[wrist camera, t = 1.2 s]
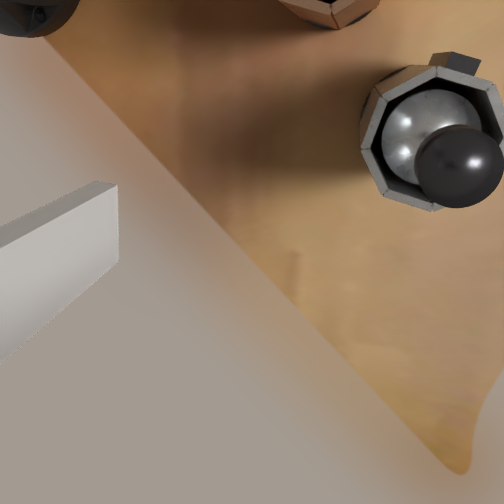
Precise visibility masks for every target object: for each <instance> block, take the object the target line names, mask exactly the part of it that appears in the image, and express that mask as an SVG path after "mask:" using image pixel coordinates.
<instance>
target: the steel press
mask: <svg viewBox="0 0 504 504" xmlns="http://www.w3.org/2000/svg"><path fill="white" fill-rule="evenodd" d="M480 62H481V60H479V59H476V58H472V57H469V56H465V55H462V54H458V53H455V52H443V53H435V54H433V55H432V57H431V59H430V62H429V64H428V65H410V66H408V67H406V68H403V69H400V70H397V71H395V72H393V73H391V74H389V75H388V76H386V77H385V78H383V79H382V80H381V81H380V82H379V83H377V84H375V85H374V86H375V87H372V90H371V92H370V93H369V95H368V97H367V99H366V101H365V103H364V106H363V109H362V113H361V120H360V123H359V131H360V151H361V153H362V155H363V157H364V160H365V162H366V164H367V166H368V168H369V170H370V172H371V174H372V176H373V179H374V181H375V183H376V185H377V187H378V189H379V191H380V193H381V195H382V194H383V197H386V198H389V199H392V200H395V201H399V202H402V203H405V204H408V205H411V206H414V207H417V208H420V209H423V210H426V211H429V212H431V210H432V209H433V211H434V212H435V211H437V210H439V209H442V208H444V206H441V205H439V204H437V203H435V202H433V201H432V200H431V199H429V198H428V197H427V196H426V194H425V193H424V192H423V190H422V188H421V186H420V185H419V184H414V183H410V182H408V181H405V180H404V179H402V178H400V177H399V176H398V175H396V174H395V173H394V172H393V171H392V170H391V168H390V167H389V166H388V164H387V162H386V160H385V157H384V155H383V150H382V133H383V128H384V125H385V123H386V121H387V119H388V117H389V115H390V114H391V112H392V111H393V110H394V109H395V107H396V106H398V105H399V104H400V103H401V102H402V101H403V100H405V99H406V98H408V97H409V96H411V95H413V94H416V93H418V92H421V91H425V90H432V89H440V90H447V91H451V92H454V93H456V94H458V95H460V96H462V97H464V98H465V99H466V100H468V101H469V102H470V103H471V104H472V106H473V107H474V108H475V110H476V112H477V114H478V116H479V119H480V122H481V128H482V132H483V133H485V134H487V135H489V136H490V137H491V138H493V139H494V140H495V141H496V142H497V144H498V145H499V146H500V148H501V150H502V153H503V156H504V106H503V103H502V101H501V98H500V95H499V93H498V90H497V87H496V85H495V84H492V83H493V82H491V81H488V80H485V79H481V78H478V77H474V75H475V73H476V71H477V69H478V67H479V64H480Z"/></svg>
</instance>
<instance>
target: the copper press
mask: <svg viewBox="0 0 504 504" xmlns="http://www.w3.org/2000/svg"><path fill="white" fill-rule="evenodd" d="M278 1H280V2H281V3H282V4H283V5H285V6H286V7H287V8H288V9H290V10H291V11H292V12H293V13H295V14H296V15H297V16H298V17H300V18H301V19H302V20H306V21H307V22H309V23H311V24H313V25H315V26H318V27H321V28H327V29H336V30H338V29H339V28H340V30H341V29H342V28H344V27H347V26H350V25H352V24H354V23H356V22H358V21H360V20H361V19H363V18H364V17H365V16H367V15H368V14H369V13H370V12H371V11H372V10H373V9H375V8H377V5H379V2H380V0H278Z"/></svg>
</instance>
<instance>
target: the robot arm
mask: <svg viewBox="0 0 504 504" xmlns="http://www.w3.org/2000/svg"><path fill="white" fill-rule="evenodd" d="M79 1H80V0H0V33H1V34H4V35H8V36H16V37H28V38H34V37H41V36H45V35H48V34H50V33H52V32H54V31H56V30H57V29H59V28H60V27H61V26H63V25H64V24H65V23H66V22H67V21H68V19H69V18H70V17H71V16H72V14H73V13H74V11H75V9H76V7H77V5H78V3H79ZM118 261H119V229H118V185H116V184H111V183H105V182H99V181H95V182H93V183H91V184H88V185H86V186H84V187H82V188H80V189H78V190H76V191H74V192H72V193H70V194H68V195H65V196H63V197H61V198H59V199H57V200H55V201H53V202H51V203H49V204H47V205H45V206H43V207H40V208H38V209H36V210H34V211H32V212H30V213H28V214H26V215H24V216H22V217H20V218H18V219H16V220H14V221H11V222H9V223H7V224H5V225H3V226H1V227H0V364H1V363H3V362H4V361H5V360H6V359H7V358H8V357H9V356H10V355H12V354H13V353H14V352H15V351H16V350H17V349H19V348H20V347H21V346H22V345H23V344H24V343H25V342H27V341H28V340H29V339H30V338H31V337H32V336H34V335H35V334H36V333H37V332H38V331H39V330H40V329H42V328H43V327H44V326H45V325H46V324H47V323H48V322H50V321H51V320H52V319H53V318H54V317H55V316H56V315H58V314H59V313H60V312H61V311H62V310H63V309H64V308H66V307H67V306H68V305H69V304H70V303H71V302H72V301H74V300H75V299H76V298H77V297H78V296H79V295H81V294H82V293H83V292H84V291H85V290H86V289H87V288H89V287H90V286H91V285H92V284H93V283H94V282H96V281H97V280H98V279H99V278H100V277H101V276H102V275H103V274H105V273H106V272H107V271H108V270H109V269H110V268H111V267H112V266H114V265H115V264H116V263H117V262H118Z"/></svg>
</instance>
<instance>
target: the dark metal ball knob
mask: <svg viewBox="0 0 504 504" xmlns="http://www.w3.org/2000/svg"><path fill="white" fill-rule="evenodd" d="M382 150H383V155H384V157H385V160H386V162H387V164H388V166H389V167H390V168H391V170H392V171H393V172H394V173H395V174H396V175H398V176H399V177H400V178H402V179H404V180H405V181H408V182H410V183H414V184H419V185H420V186H421V188H422V190H423V192H424V193H425V194H426V196H427V197H428V198H429V199H431V200H432V201H433V202H435V203H437V204H439V205H441V206H444V207H448V208H464V207H468V206H472V205H474V204H477V203H479V202H481V201H482V200H484V199H485V198H487V197H488V196H489V195H490V194H491V193H492V192H493V191H494V190H495V189H496V187H497V186H498V184H499V182H500V180H501V178H502V175H503V171H504V156H503V153H502V150H501V148H500V146H499V145H498V144H497V142H496V141H495V140H494V139H493V138H491V137H490V136H489V135H487V134H485V133H483V132H482V128H481V122H480V119H479V116H478V114H477V112H476V110H475V108H474V107H473V106H472V104H471V103H470V102H469V101H468V100H466V99H465V98H464V97H462V96H460V95H458V94H456V93H454V92H451V91H447V90H440V89H432V90H425V91H421V92H418V93H416V94H413V95H411V96H409V97H408V98H406V99H405V100H403V101H402V102H401V103H400V104H399V105H398V106H396V107H395V109H394V110H393V111H392V112H391V114H390V115H389V117H388V119H387V121H386V123H385V125H384V128H383V133H382Z"/></svg>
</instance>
